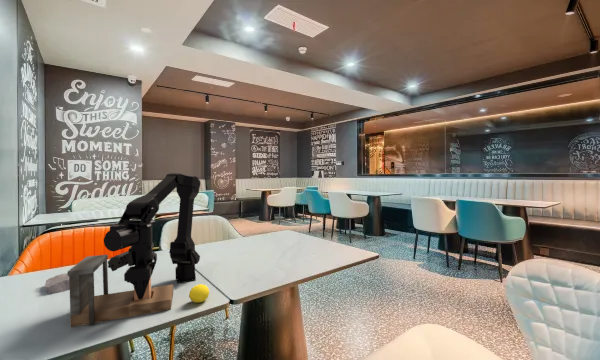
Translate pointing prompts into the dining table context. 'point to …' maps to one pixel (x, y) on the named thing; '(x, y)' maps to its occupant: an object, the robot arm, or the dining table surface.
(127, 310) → the socket stand
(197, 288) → the lemon
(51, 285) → the stone block
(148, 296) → the peg
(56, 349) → the dining table surface
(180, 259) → the robot arm
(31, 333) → the dining table surface
